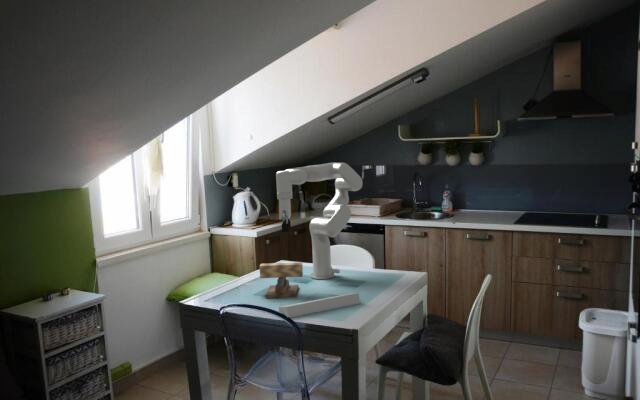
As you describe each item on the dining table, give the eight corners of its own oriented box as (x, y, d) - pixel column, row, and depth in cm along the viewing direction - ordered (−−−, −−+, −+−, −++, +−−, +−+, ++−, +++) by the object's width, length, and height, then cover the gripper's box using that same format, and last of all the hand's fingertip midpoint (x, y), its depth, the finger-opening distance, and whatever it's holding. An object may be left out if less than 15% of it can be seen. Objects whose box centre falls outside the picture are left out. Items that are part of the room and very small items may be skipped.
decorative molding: (280, 318, 222) (288, 318, 213) (278, 307, 222) (286, 306, 213) (349, 304, 237) (360, 304, 228) (347, 293, 237) (358, 293, 228)
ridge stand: (298, 287, 257) (297, 271, 256) (295, 297, 241) (294, 280, 240) (270, 288, 257) (269, 272, 256) (265, 298, 241) (264, 281, 240)
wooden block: (302, 274, 250) (302, 262, 249) (302, 276, 245) (301, 264, 245) (261, 275, 251) (260, 263, 250) (260, 278, 246) (259, 265, 246)
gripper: (279, 194, 264) (281, 227, 266) (274, 198, 247) (276, 233, 249) (294, 193, 264) (295, 226, 266) (290, 197, 247) (292, 232, 249)
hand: (286, 230), depth 258 cm, fingers open, 9 cm apart
